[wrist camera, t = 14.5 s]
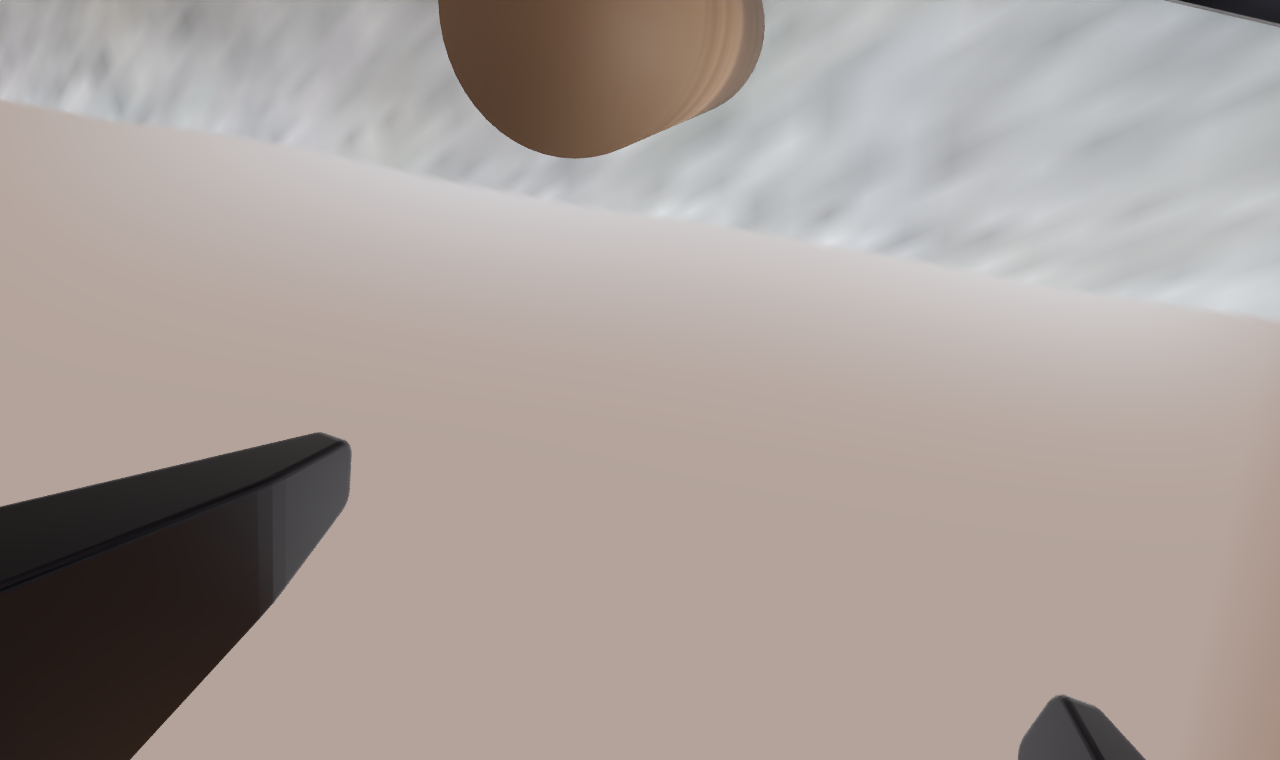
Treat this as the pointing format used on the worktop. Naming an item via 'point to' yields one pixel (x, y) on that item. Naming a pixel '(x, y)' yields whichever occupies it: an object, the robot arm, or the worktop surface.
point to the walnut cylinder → (598, 65)
